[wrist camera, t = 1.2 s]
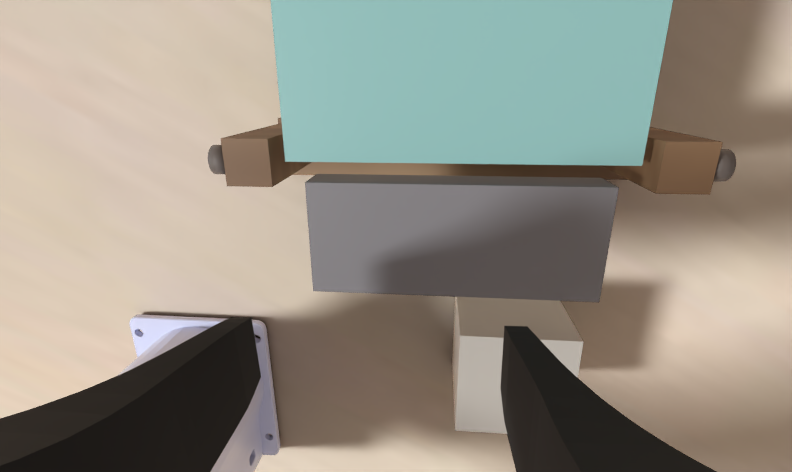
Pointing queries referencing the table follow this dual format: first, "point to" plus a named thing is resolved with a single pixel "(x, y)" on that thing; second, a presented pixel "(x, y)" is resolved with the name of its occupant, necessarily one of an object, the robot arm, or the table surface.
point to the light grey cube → (500, 352)
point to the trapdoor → (465, 137)
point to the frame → (660, 172)
